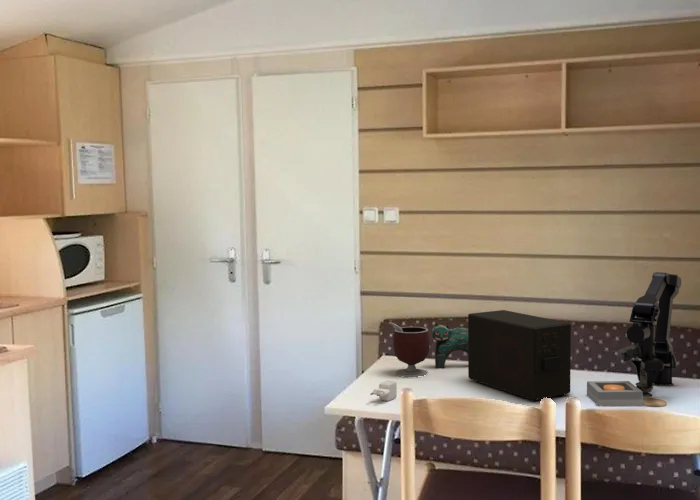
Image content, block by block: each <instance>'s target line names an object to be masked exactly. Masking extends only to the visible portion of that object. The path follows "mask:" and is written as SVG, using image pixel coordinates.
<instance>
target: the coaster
mask: <svg viewBox="0 0 700 500" xmlns="http://www.w3.org/2000/svg"><path fill="white" fill-rule="evenodd" d="M667 405H668V402H667V400H665V399H662V398H657V397H643V406H645V407H651V408H661V407H665V406H667Z"/></svg>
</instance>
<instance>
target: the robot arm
mask: <svg viewBox="0 0 700 500" xmlns="http://www.w3.org/2000/svg"><path fill="white" fill-rule="evenodd" d="M651 278H652V279H651V280H650V282H649V285H648V287H647V289H646V291H645V293H644V295H643V296H640V297H638V299H637V300H636V301H635V303H634V304H633V306H632V309H631V313H630V317H629V323H632V326H630V327H629V328H628V329H627V331H626V338H627V339H628V341H629V342H630V343H633V344H632V345H628V346H626V347H623V348H620V349H618V350H617V352H618V355H619V358H620V360H622V361H623V362H628V361H630V363H632V364H633V366H634V368H635V372H636V376H637V380H638V382H639V381H640V374H639V373H640V365H642V367H641V368H642V369H643V370H644V371H645V375H646V382H647V387H648V388H651V387H652V385H653V384H654V386H674V385H675V384H674V383H673V369H676V368H677V359H676V356H675V353H674V347H673V345H672V343H671V341H670V331H671V321H672V313H673V304H674V303H673V302H674V299H675V298H676V297H677V296H678V294H679V292H680V288H681V286H682V279H681V277H679V275H678V274H670V273H668V272H660V271H659V272H658V271H656V272H653V273H652V277H651ZM655 324H656V325H655Z"/></svg>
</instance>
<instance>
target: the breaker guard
mask: <svg viewBox="0 0 700 500" xmlns="http://www.w3.org/2000/svg"><path fill="white" fill-rule="evenodd" d="M610 384H612V385H620V386H623V387H625V390H603V388H604V385H610ZM586 395H587V396H588V398H590V399H591V400H592V401H593V402H594V403H595V404H596V405H597V406H598V407H604V406H606V407H607V406H609V407H610V406H611V407H614V406H615V407H621V406H622V407H635V406H637V407H639V406H641V407H642V406H644V405H643V398H644V397H643V392H642V391H641V390H640V389H638V388H637V387H636V384H633V383H632V382H631V381H630V380H619V381H618V380H606V381H605V380H600V381H599V380H598V381H597V380H589V381H587V380H586Z"/></svg>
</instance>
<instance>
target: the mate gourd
mask: <svg viewBox="0 0 700 500" xmlns="http://www.w3.org/2000/svg"><path fill="white" fill-rule="evenodd" d="M388 325H391V326H392V327H394V331H393V336H392V337H393V338H392V341H393V342H392V345H393V351H394V356H395V357H396V358H397V360H398V361H400V362H401V363H404V364H406V365H407V366H406V367H407V368H401V369H398V370H397V369H396V371H395V375H396V376H397V375H399V376H398V377H401V376H404V377H403V378H408V377H416V378H419V377H418V376H423V377H425V376H424V375H426V374H427V373H429V372H428V371H427V370H425V369H422V368H417V367H416V365H417V364H419V363H422V362H425V359H427V357H428V355H429V352H430V342H431V341H430V335H429V334H430V333H429V328H426V327H422V326H401V327H400V326H399V325H397V324H396V323H394V322H390V321H389V322H388ZM427 375H428V374H427ZM427 375H426V376H427Z"/></svg>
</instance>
